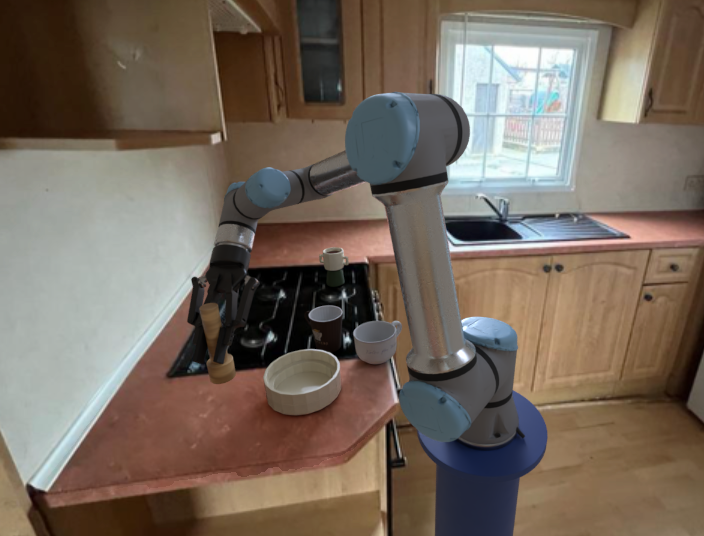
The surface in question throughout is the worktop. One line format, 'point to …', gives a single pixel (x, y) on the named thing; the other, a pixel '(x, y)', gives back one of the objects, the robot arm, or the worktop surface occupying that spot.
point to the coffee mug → (326, 327)
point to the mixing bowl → (302, 381)
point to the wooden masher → (211, 330)
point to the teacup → (376, 341)
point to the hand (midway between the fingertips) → (208, 362)
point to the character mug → (334, 265)
